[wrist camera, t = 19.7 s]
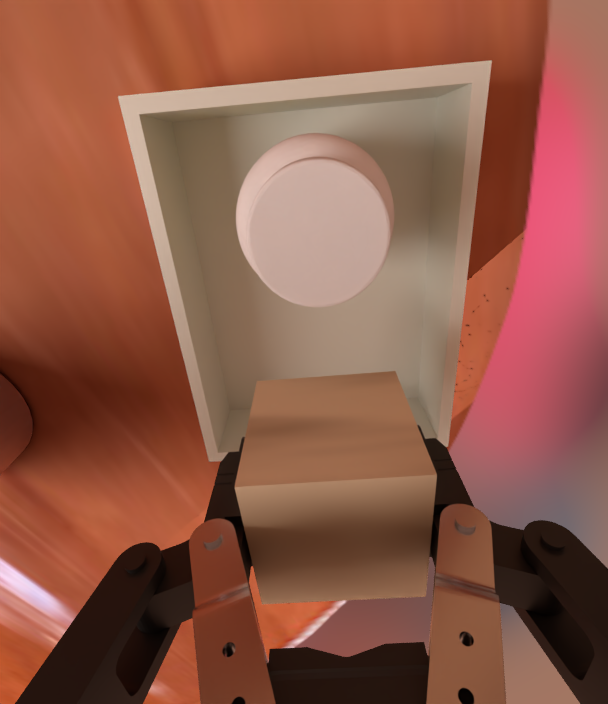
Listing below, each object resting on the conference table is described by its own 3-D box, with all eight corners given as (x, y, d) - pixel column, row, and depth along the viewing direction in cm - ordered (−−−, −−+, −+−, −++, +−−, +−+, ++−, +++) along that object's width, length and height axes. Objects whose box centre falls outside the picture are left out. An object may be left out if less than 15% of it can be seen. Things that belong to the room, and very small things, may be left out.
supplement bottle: (384, 221, 20) (448, 276, 11) (293, 275, 21) (285, 362, 12) (332, 114, 18) (361, 76, 9) (234, 181, 19) (175, 205, 10)
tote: (422, 396, 26) (448, 446, 21) (225, 409, 26) (209, 461, 22) (444, 83, 18) (491, 60, 13) (162, 110, 18) (117, 96, 14)
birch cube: (392, 474, 16) (425, 596, 12) (273, 481, 16) (261, 604, 12) (395, 371, 14) (436, 474, 9) (256, 381, 14) (234, 487, 10)
